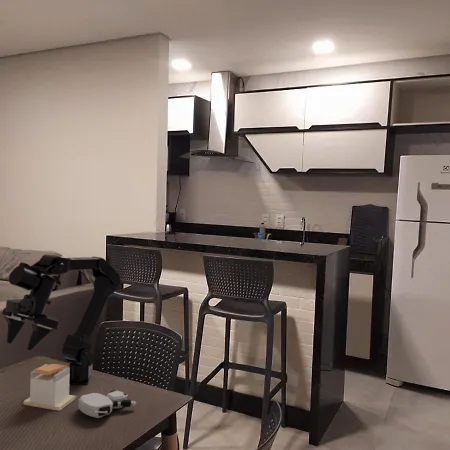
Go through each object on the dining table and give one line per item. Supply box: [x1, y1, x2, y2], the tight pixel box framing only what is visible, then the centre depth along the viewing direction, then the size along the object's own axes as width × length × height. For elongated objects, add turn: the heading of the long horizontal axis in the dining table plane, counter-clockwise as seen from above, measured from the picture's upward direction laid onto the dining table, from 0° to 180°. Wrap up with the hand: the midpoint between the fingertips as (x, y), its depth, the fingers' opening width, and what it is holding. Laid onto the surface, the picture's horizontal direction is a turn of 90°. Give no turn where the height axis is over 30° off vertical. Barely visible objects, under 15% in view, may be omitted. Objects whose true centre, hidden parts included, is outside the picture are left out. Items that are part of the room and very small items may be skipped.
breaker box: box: [23, 363, 76, 412], centre depth 132 cm, size 8×12×10 cm, turn 76°
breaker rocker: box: [33, 363, 68, 375], centre depth 131 cm, size 9×5×2 cm, turn 167°
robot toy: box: [73, 389, 137, 419], centre depth 128 cm, size 12×4×15 cm
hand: (18, 346), depth 127 cm, fingers open, 9 cm apart
